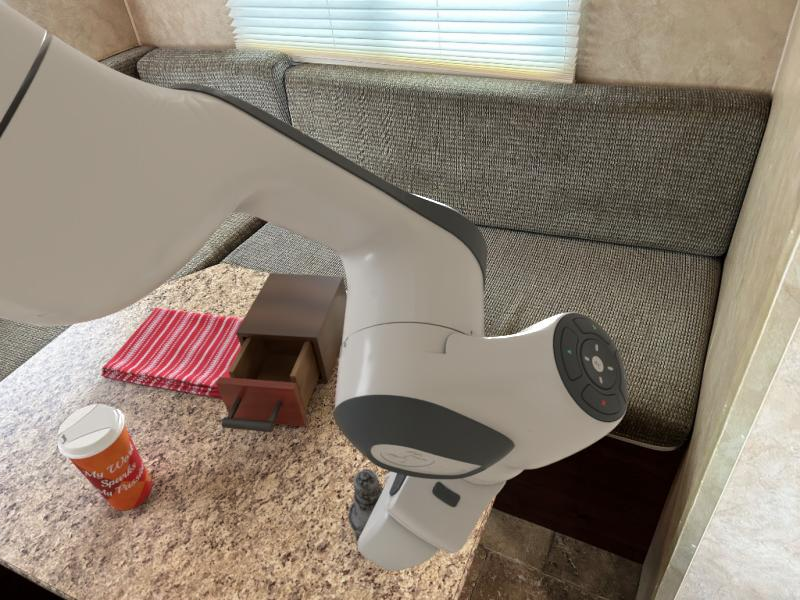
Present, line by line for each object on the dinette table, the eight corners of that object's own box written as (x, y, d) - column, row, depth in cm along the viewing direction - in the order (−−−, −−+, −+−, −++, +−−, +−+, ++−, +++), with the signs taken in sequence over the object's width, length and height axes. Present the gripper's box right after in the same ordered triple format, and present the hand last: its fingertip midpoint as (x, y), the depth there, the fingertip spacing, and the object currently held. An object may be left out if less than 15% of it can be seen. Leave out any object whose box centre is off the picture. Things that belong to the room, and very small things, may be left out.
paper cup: (112, 529, 77) (63, 463, 68) (93, 490, 82) (45, 424, 73) (170, 492, 80) (130, 424, 71) (148, 457, 85) (108, 390, 76)
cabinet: (328, 383, 93) (316, 337, 87) (252, 377, 95) (235, 332, 89) (351, 320, 104) (342, 275, 98) (282, 316, 106) (270, 273, 100)
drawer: (294, 455, 82) (281, 418, 77) (217, 447, 84) (199, 410, 79) (331, 359, 96) (322, 322, 91) (263, 354, 98) (251, 318, 93)
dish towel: (228, 402, 92) (223, 390, 90) (100, 380, 98) (93, 369, 97) (276, 327, 104) (272, 315, 103) (160, 312, 111) (154, 301, 109)
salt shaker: (346, 548, 72) (329, 490, 64) (360, 504, 76) (345, 445, 69) (394, 557, 70) (382, 499, 63) (405, 512, 75) (396, 452, 67)
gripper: (478, 320, 55) (412, 373, 66) (380, 526, 43) (319, 549, 54) (533, 360, 56) (458, 406, 67) (452, 573, 43) (377, 586, 54)
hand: (396, 471), depth 60 cm, fingers closed
